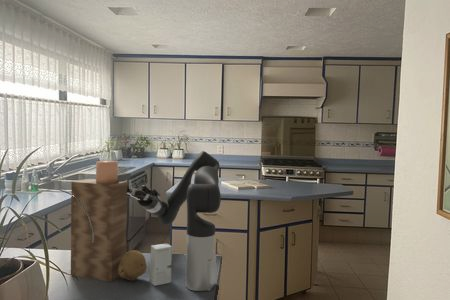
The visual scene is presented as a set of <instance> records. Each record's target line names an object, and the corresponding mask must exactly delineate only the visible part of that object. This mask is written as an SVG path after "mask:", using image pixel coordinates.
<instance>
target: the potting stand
mask: <svg viewBox="0 0 450 300" xmlns="http://www.w3.org/2000/svg"><path fill="white" fill-rule="evenodd" d="M127 186H128V181H125V180H121V181H118V183H113V184H99V183H96V178H95V179H94V178H85V179H79V180H72V181H71V186H70V189H71V190H70V191H71V194H72V195H74V196H75V197H76V198H77V199H79V200H80V202H81V204H82V205H83V206H84V207H85V209H86V210H87V212H88V214H89V216H90V219H91V223H92V227H93V232H94V242H93V243H92V235H91V228H90V222H89V219H88V216H87V214H86V212H85V211H84V209H83V208H82V207H81V205H80V203H79V201H78V200H77V199H76V198H75V197H73V196H71V195H70V196H71V197H70V200H71V201H70V202H71V203H70V206H71V208H70V209H71V210H70V276H73V277H74V276H75V277H81V278H87V279H92V280H98V281H105V282H110V283H111V282H114V281H115V280H116V279H118V278H119V277H120V276H119V274H118V267H119V264H120V261H121V258H122V257H123V255H124V254H125V253H126V252H127V222H128V221H127V219H128V218H127V217H128V215H127V214H128V212H127V211H128V210H127V209H128V197H127Z"/></svg>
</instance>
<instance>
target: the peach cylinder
mask: <svg viewBox="0 0 450 300" xmlns="http://www.w3.org/2000/svg"><path fill="white" fill-rule="evenodd" d="M95 163H96V164H95V179H96V183H99V184H113V183H118V181H125V180H126V181H127V180H129V179H132V175H131V172H120V173H119V161H117V160H99V161H96V162H95Z"/></svg>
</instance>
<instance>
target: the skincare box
mask: <svg viewBox="0 0 450 300" xmlns="http://www.w3.org/2000/svg"><path fill="white" fill-rule="evenodd" d="M172 254H173V246H172V245H170V244H169V243H160V244H154V245H153V244H152V245H150V259H149V260H150V261H149V262H150V263H149V265H150V267H149V282H150V283H151V285H153V286H160V285H161V286H162V285H165V284H171V282H172V263H173V262H172V260H173V258H172V257H173V255H172Z"/></svg>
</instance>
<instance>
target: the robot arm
mask: <svg viewBox="0 0 450 300" xmlns="http://www.w3.org/2000/svg"><path fill="white" fill-rule="evenodd" d="M220 165H221V164H220V161H219V160H217V159H216V158H215V157H213V156H212V155H211V154H209V153H208V152H206V151H205V150H204V151H203V150H202V151H200V152H199V153H198V154H197V155H196V157H194V159H193V160H192V162H191V163H190V165H189V166H188V168H187V169H186V170H185V171H186V172H185V173H184V174H183V177H182V178H181V180H180V181H179V182H178V184H177V185H176V187H175V188H174V190H173V191H172V192H171V193H170V195H169V196H168V197H167V199H166V201H167V202H166V201H164V200H162V199H161V198H160V196H161V194H160V193H159V192H158V191H157V190H156V189H151V188H149V187H148V186H146V185H142V186H141V189H139V188H138V189H137V188H136V187H133V188H132V187H130V186H128V185H127V199H128V198H129V199H131V198H134V199H135V200H137V203H138V205H140V206H141V207H142V208H143V209H144V210H145V211H147V212H149V213H150V214H152V215H153V216H155V217H157V218H158V220H159V221H160V223H161V224H162V225H163V226H169V225H171V224H172V223H173V222H174V221H175V220H176V218H177V215H178V213H179V211H180V210H181V207H182V205H183V204H184V203H185V202H186V247H185V248H186V249H185V251H186V252H185V280H184V281H185V285H184V286H185V288H187V289H188V290H191V291H194V292H204V291H209V292H210V291H211V290H212V289H213V287H214V286H215V285H216V281H217V280H216V279H217V254H215V249H216V244H215V243H216V225H215V224H214V223H213V222H211V221H208V220H206V219H204V218H202V217H200V216H199V215H198V214H213V213H216V212H218V210H219V209H220V206H221V201H222V199H221V190H220V186H219V185H220V184H219V183H220V182H219V179H220V178H219V170H220ZM195 171H196V172H195ZM194 173H195V174H194ZM193 175H194V180H193V183H192V179H193Z"/></svg>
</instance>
